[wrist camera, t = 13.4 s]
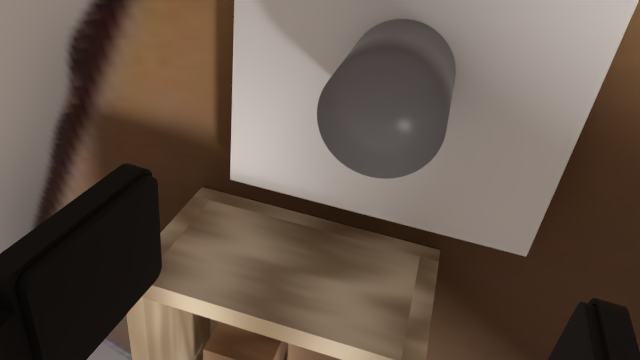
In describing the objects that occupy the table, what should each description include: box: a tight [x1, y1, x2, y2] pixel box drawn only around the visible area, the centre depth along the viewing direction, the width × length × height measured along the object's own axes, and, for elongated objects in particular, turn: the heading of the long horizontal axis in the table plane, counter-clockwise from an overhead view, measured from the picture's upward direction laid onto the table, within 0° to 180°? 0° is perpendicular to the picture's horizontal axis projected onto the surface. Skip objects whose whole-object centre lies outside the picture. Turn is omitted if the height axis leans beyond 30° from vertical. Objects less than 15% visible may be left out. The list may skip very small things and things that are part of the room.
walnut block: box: [203, 322, 288, 360], centre depth 32 cm, size 4×4×4 cm
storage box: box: [127, 187, 440, 360], centre depth 30 cm, size 14×14×8 cm
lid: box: [230, 0, 639, 257], centre depth 20 cm, size 15×15×6 cm
